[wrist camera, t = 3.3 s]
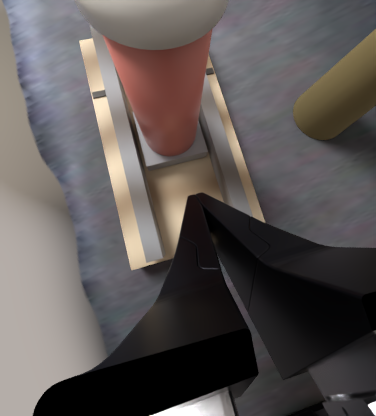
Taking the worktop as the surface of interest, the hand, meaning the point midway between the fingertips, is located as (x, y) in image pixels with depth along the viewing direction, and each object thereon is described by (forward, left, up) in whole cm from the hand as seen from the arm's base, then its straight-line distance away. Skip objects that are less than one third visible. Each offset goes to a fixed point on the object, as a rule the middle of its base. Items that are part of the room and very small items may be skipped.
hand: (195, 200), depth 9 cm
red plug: (+7, 0, -5) cm, 8 cm away
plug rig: (+8, 0, -7) cm, 11 cm away
